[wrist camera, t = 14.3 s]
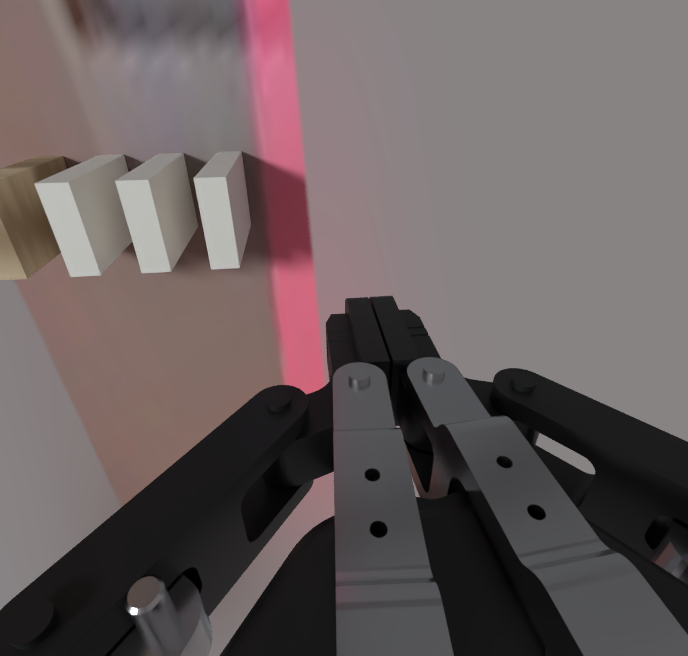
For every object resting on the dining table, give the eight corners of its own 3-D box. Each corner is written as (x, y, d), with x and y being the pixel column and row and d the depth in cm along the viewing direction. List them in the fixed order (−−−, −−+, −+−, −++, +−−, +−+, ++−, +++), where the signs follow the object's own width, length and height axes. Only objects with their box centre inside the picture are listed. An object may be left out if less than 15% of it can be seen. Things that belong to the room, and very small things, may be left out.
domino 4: (217, 151, 28) (193, 178, 21) (241, 151, 28) (225, 176, 21) (228, 225, 30) (211, 269, 24) (251, 224, 30) (239, 268, 24)
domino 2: (98, 155, 27) (34, 183, 20) (123, 154, 27) (68, 182, 20) (121, 229, 30) (70, 276, 23) (144, 228, 30) (101, 275, 23)
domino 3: (158, 153, 27) (114, 180, 21) (183, 153, 27) (148, 179, 21) (175, 227, 30) (142, 273, 23) (198, 226, 30) (171, 271, 23)
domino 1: (36, 156, 27) (-51, 185, 20) (63, 156, 27) (-15, 184, 20) (64, 232, 29) (-4, 280, 23) (88, 231, 29) (27, 278, 23)
